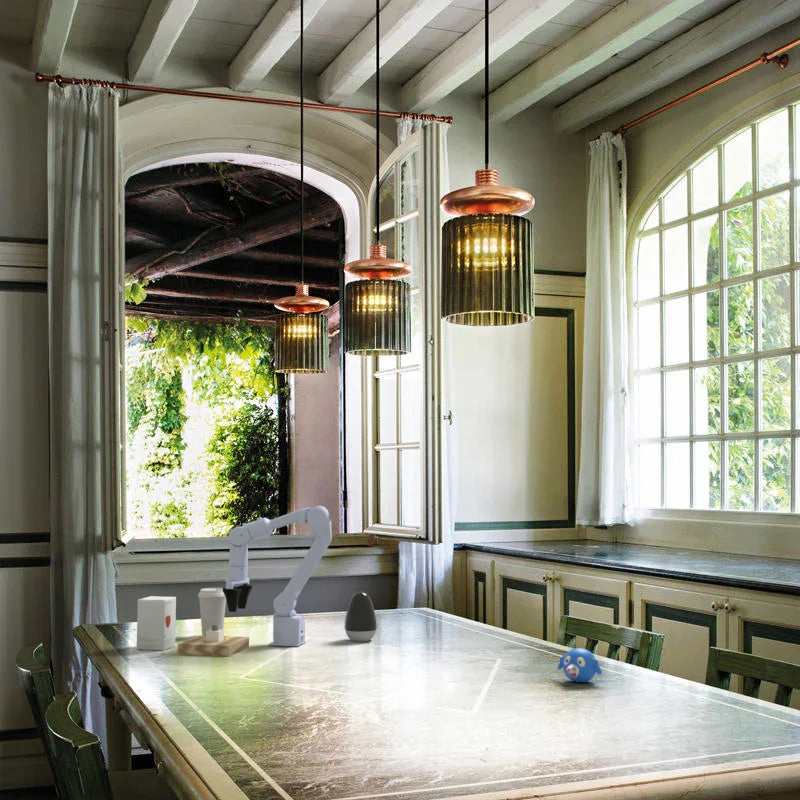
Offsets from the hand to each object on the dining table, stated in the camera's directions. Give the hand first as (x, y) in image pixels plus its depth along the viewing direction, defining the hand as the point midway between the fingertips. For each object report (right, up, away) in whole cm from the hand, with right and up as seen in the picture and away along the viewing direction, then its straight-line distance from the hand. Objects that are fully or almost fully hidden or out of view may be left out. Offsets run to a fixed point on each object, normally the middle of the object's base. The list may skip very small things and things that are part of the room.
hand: (237, 610), depth 320 cm
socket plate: (-5, -10, -12) cm, 16 cm away
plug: (-5, -10, -12) cm, 16 cm away
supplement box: (-23, -10, -7) cm, 26 cm away
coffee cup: (-10, -12, +15) cm, 22 cm away
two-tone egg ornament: (+38, -11, +6) cm, 40 cm away
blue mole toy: (+95, -7, -60) cm, 112 cm away
